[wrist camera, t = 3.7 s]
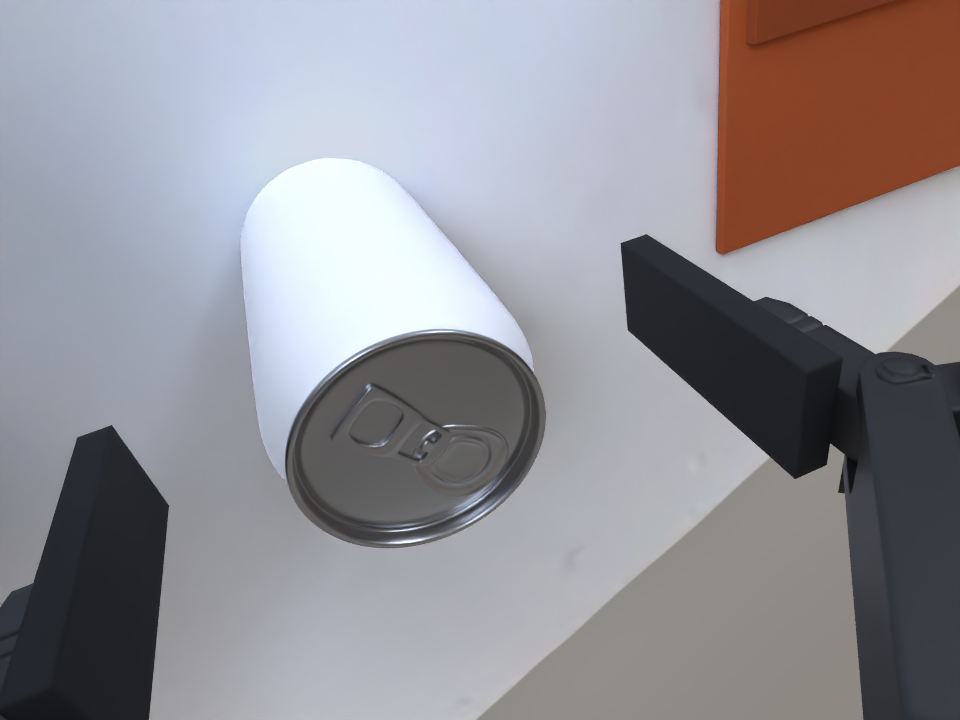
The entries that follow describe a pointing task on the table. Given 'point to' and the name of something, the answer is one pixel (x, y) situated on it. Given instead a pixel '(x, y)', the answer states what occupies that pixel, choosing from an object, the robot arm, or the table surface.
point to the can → (381, 361)
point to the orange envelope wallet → (830, 107)
